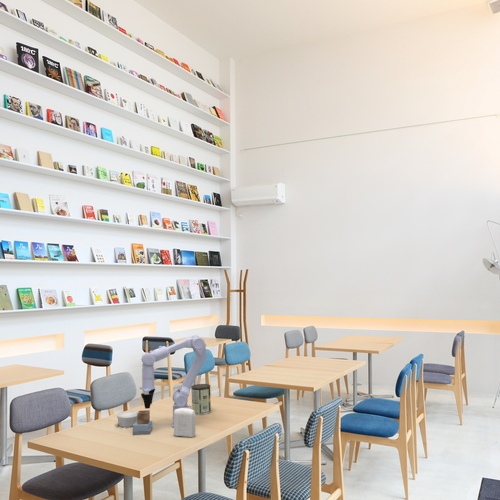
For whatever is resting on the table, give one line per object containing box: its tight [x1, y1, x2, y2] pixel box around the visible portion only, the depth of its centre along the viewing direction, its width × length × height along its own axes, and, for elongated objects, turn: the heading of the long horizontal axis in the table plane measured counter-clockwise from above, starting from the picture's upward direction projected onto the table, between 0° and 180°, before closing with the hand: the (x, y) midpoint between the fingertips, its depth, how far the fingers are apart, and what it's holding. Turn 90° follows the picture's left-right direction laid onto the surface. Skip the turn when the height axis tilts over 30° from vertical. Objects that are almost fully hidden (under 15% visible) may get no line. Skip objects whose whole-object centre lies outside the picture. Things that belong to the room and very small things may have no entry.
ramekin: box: [116, 410, 139, 428], centre depth 238 cm, size 11×11×5 cm
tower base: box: [132, 426, 153, 436], centre depth 224 cm, size 8×8×2 cm
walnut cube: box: [137, 410, 151, 424], centre depth 225 cm, size 5×5×5 cm
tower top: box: [132, 420, 153, 432], centre depth 225 cm, size 7×7×2 cm
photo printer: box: [173, 408, 196, 438], centre depth 218 cm, size 10×4×12 cm, turn 72°
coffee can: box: [191, 383, 212, 416], centre depth 257 cm, size 10×10×14 cm
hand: (148, 406), depth 231 cm, fingers open, 7 cm apart
